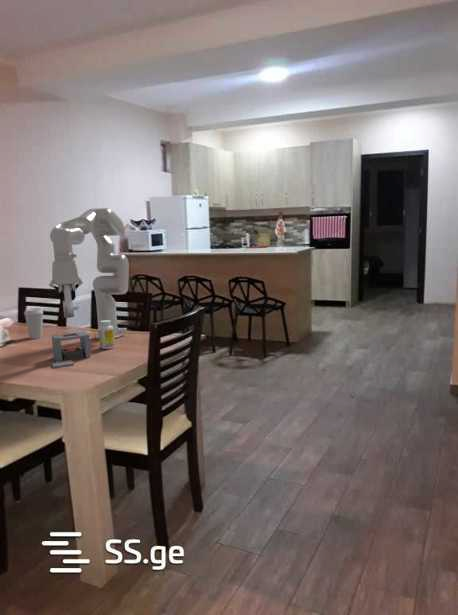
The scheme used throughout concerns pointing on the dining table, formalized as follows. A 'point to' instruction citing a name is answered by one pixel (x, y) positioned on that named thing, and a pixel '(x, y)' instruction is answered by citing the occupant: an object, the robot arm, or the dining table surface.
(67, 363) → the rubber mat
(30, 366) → the dining table surface
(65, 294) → the silver metal cylinder
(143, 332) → the dining table surface
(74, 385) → the dining table surface
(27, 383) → the dining table surface
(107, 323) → the supplement bottle
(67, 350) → the button
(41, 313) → the coffee cup
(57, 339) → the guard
